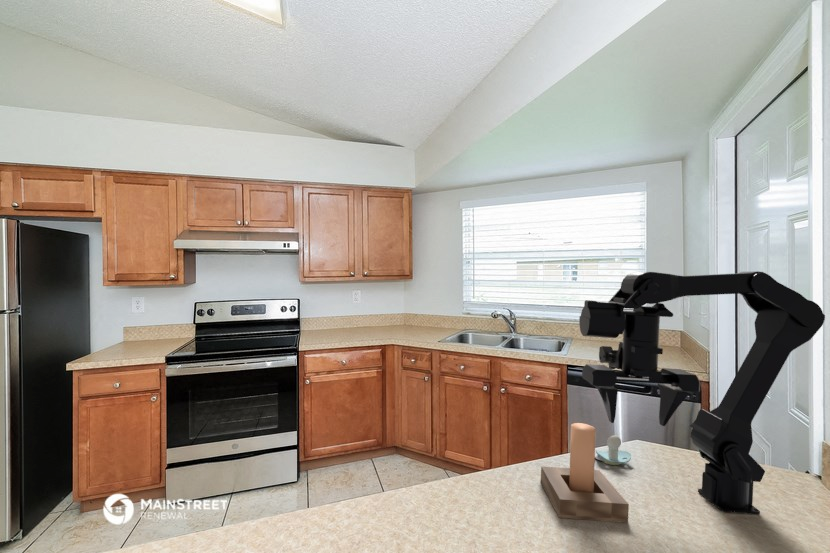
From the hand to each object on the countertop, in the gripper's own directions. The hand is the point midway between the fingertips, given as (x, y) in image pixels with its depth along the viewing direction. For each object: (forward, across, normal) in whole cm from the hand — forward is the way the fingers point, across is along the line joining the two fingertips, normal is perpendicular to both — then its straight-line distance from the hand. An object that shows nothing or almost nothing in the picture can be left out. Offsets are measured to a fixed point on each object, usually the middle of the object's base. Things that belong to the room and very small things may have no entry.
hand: (636, 423), depth 71 cm
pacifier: (+13, -2, -13) cm, 19 cm away
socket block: (+13, +11, +4) cm, 17 cm away
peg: (+12, +11, +4) cm, 17 cm away
